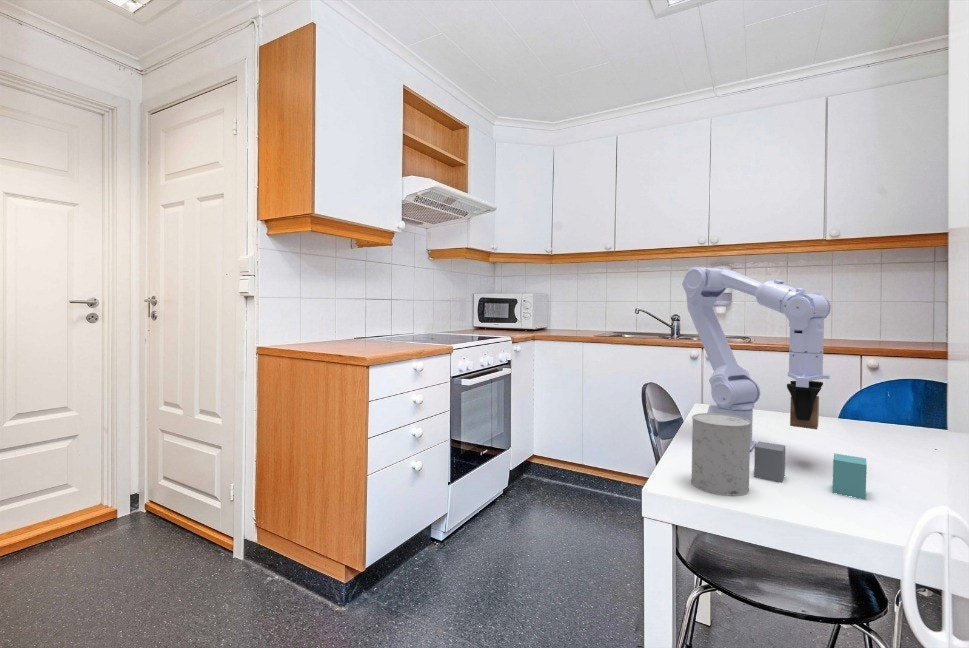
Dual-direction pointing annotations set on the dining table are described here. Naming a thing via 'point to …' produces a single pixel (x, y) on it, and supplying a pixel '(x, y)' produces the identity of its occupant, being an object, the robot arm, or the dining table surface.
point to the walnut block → (802, 423)
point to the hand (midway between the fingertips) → (804, 417)
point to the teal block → (849, 476)
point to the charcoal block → (769, 461)
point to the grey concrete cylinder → (721, 453)
